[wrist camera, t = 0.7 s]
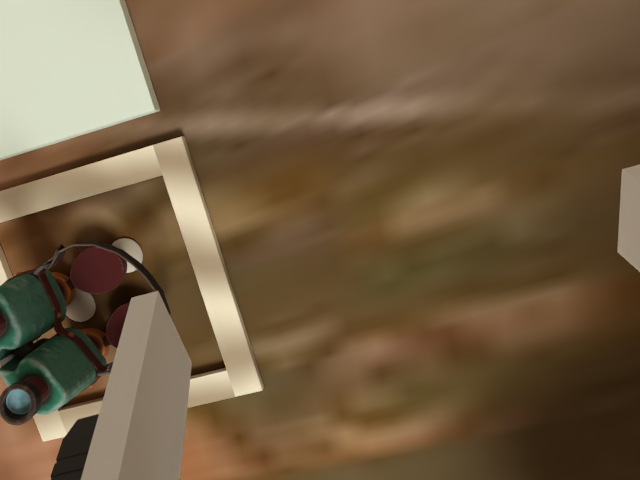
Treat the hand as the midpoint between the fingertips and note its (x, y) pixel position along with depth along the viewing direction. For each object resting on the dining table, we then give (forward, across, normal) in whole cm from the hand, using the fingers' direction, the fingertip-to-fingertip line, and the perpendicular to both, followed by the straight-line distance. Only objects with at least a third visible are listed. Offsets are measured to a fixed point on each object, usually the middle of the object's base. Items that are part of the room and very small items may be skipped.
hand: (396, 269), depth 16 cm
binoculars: (+21, +17, +11) cm, 29 cm away
